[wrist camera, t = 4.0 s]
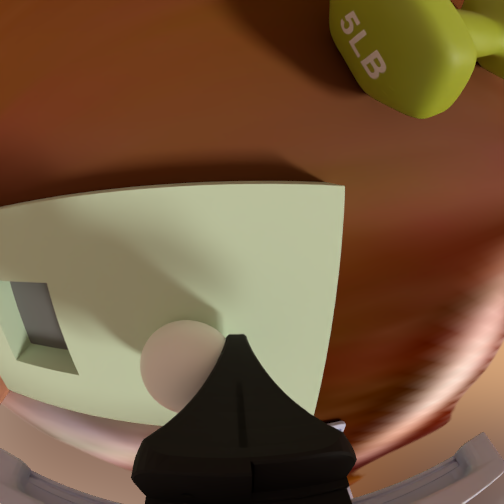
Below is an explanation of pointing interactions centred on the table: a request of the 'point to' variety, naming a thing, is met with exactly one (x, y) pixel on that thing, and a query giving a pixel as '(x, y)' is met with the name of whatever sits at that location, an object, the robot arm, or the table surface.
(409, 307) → the table surface
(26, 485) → the robot arm
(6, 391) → the pepper shaker
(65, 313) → the pale green box
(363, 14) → the dumbbell
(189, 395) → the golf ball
